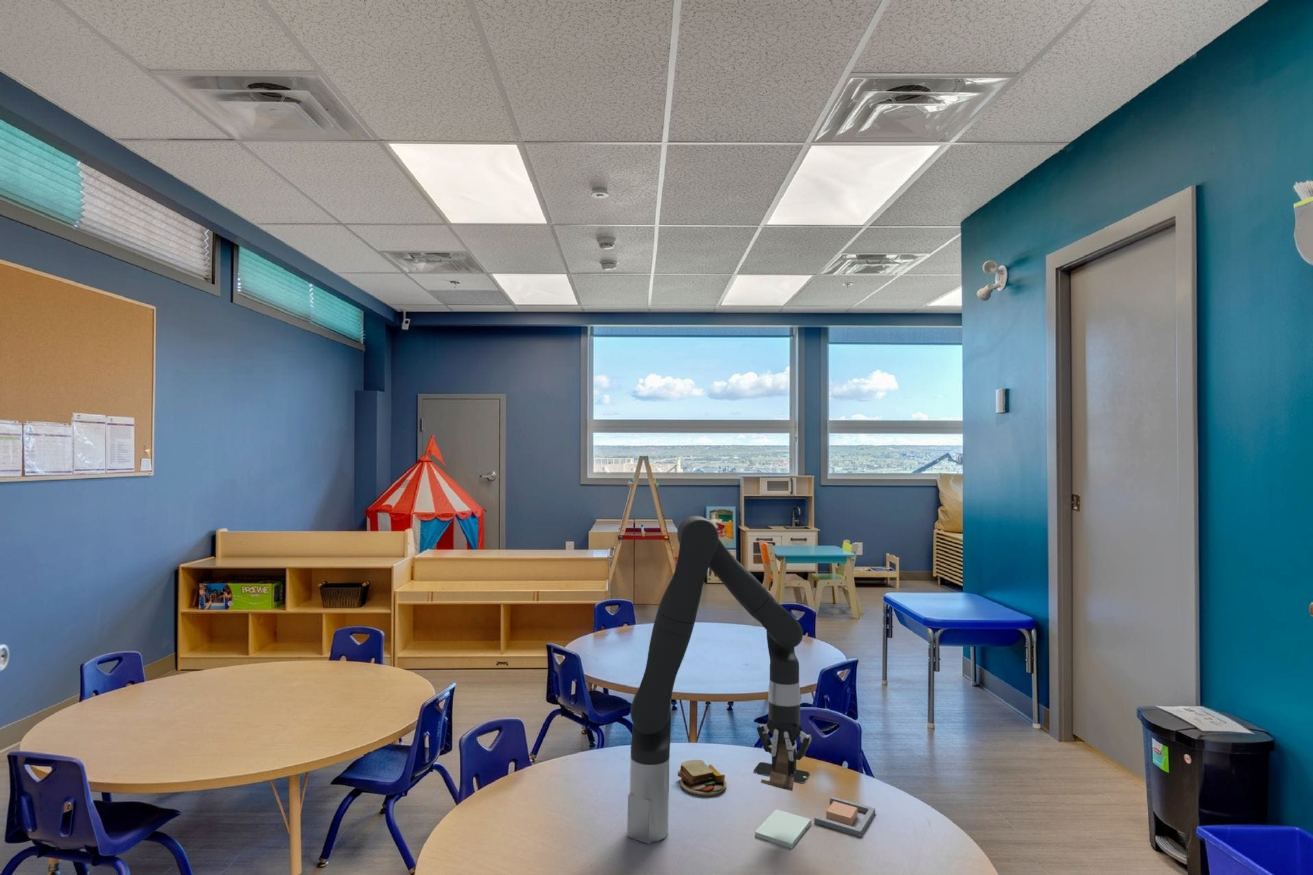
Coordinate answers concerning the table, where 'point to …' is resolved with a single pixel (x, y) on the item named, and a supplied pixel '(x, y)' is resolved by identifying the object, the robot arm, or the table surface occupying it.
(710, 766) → the toy sandwich meal
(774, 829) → the board
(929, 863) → the table surface
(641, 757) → the robot arm
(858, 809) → the bay
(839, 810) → the tile
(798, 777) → the smartphone
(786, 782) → the brown block
